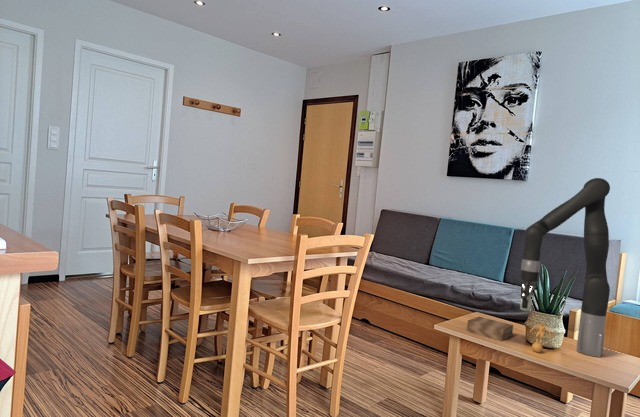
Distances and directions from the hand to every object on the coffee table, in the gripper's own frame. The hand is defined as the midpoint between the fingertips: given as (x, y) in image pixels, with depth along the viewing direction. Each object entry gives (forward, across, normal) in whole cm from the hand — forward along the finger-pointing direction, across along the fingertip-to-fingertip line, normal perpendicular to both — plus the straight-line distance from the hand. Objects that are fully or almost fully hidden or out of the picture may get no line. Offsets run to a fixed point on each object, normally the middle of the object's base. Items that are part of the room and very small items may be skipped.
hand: (526, 307), depth 203 cm
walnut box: (+15, -5, +13) cm, 20 cm away
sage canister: (+1, 0, 0) cm, 1 cm away
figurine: (+15, -13, -10) cm, 22 cm away
